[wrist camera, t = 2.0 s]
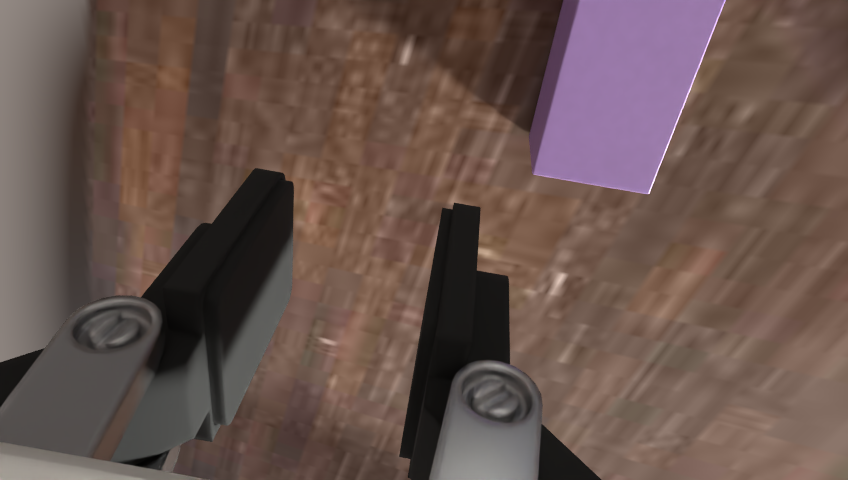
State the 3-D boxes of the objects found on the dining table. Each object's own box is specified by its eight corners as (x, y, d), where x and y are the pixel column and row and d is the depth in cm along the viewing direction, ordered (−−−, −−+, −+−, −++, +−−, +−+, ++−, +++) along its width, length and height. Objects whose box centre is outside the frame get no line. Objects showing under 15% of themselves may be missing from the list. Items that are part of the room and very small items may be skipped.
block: (574, -45, 24) (585, -28, 21) (697, -24, 24) (727, -4, 21) (528, 137, 29) (531, 174, 25) (632, 154, 29) (649, 195, 25)
